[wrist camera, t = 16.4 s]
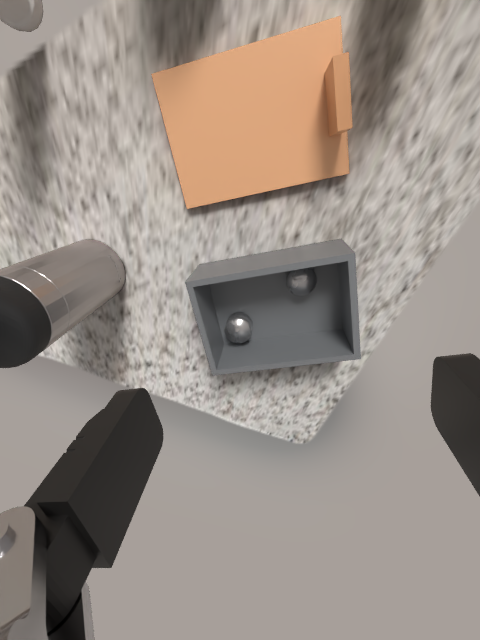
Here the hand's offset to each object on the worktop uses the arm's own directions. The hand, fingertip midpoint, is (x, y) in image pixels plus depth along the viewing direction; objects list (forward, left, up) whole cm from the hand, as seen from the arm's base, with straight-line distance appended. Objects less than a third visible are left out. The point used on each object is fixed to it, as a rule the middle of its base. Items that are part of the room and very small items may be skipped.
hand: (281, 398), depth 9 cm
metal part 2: (+2, -8, -35) cm, 36 cm away
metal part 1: (-8, -14, -35) cm, 39 cm away
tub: (-2, -11, -36) cm, 38 cm away
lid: (-1, +11, -36) cm, 38 cm away
